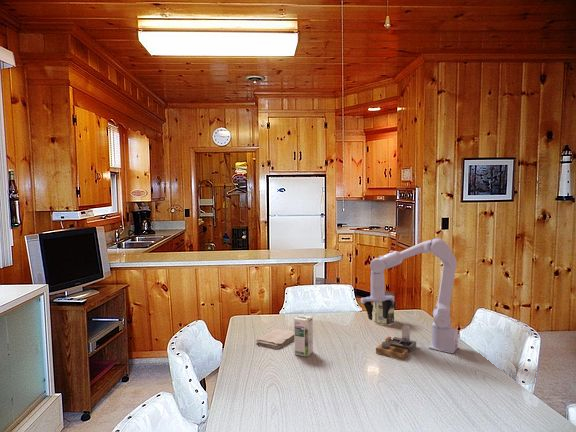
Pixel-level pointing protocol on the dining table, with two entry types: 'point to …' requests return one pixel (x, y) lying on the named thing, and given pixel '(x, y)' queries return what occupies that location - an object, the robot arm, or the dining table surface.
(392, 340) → the drift key
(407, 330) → the metallic rounded cylinder
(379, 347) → the frame
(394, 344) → the socket block
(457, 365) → the dining table surface
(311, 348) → the syrup box
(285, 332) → the washcloth
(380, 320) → the coffee can
